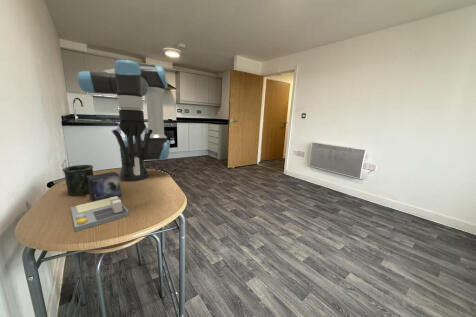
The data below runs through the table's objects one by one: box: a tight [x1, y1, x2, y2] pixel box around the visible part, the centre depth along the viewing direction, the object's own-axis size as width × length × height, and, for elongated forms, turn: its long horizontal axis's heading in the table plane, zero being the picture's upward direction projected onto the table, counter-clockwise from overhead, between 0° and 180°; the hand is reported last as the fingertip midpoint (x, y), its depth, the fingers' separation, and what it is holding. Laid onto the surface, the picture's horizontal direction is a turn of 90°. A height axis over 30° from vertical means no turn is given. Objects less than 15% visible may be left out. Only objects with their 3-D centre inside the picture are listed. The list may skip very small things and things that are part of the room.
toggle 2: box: [112, 198, 123, 213], centre depth 67 cm, size 2×2×4 cm
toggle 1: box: [110, 196, 120, 209], centre depth 69 cm, size 2×2×4 cm
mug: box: [62, 164, 94, 197], centre depth 86 cm, size 11×15×12 cm
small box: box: [87, 171, 122, 202], centre depth 82 cm, size 11×6×10 cm, turn 140°
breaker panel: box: [70, 198, 130, 232], centre depth 69 cm, size 15×18×2 cm
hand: (137, 174), depth 69 cm, fingers closed
